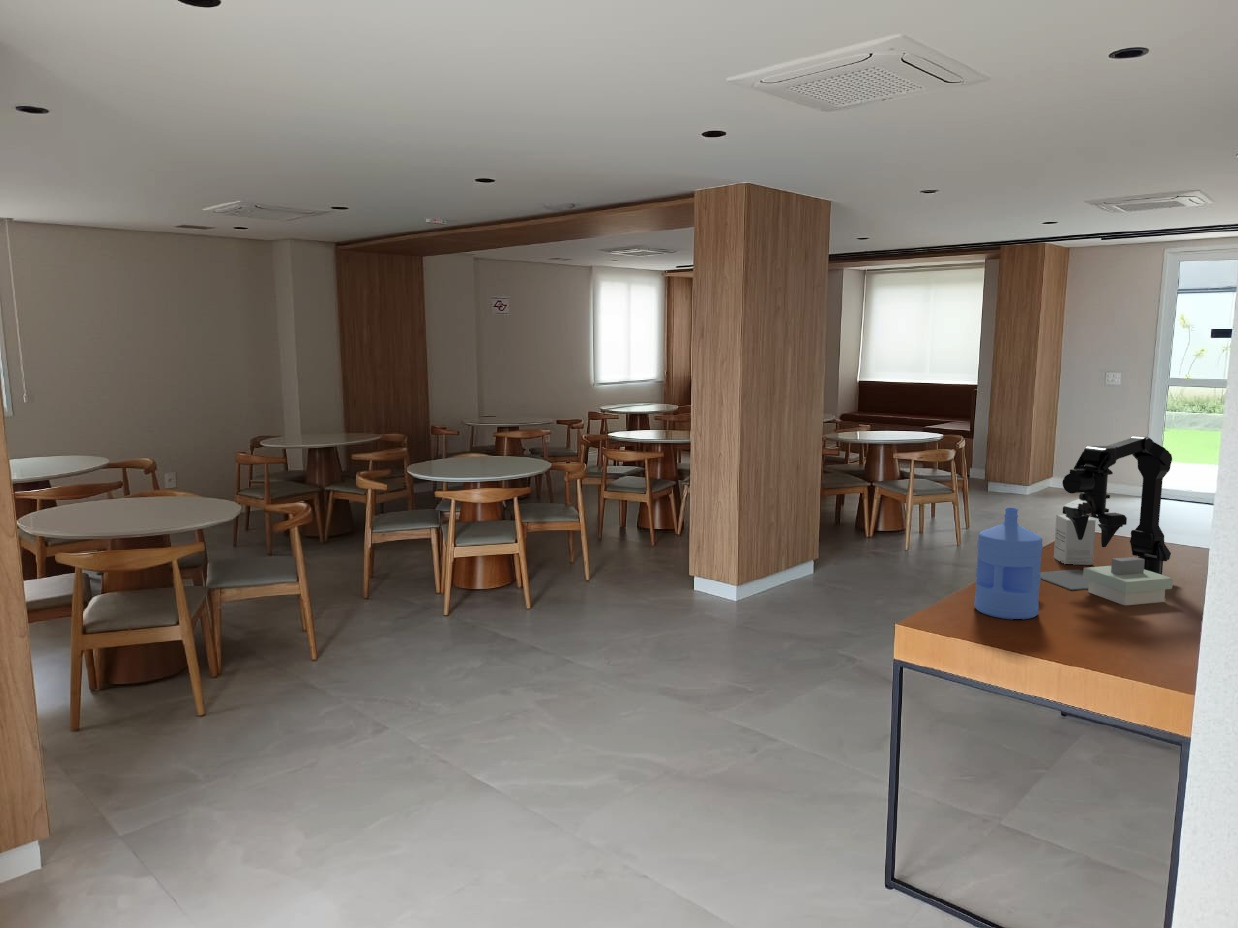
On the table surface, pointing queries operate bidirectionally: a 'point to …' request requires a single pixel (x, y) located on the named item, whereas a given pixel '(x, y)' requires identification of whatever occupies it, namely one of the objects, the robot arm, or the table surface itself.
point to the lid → (1128, 576)
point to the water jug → (1008, 570)
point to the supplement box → (1073, 542)
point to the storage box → (1126, 595)
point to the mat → (1066, 579)
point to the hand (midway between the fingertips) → (1091, 543)
